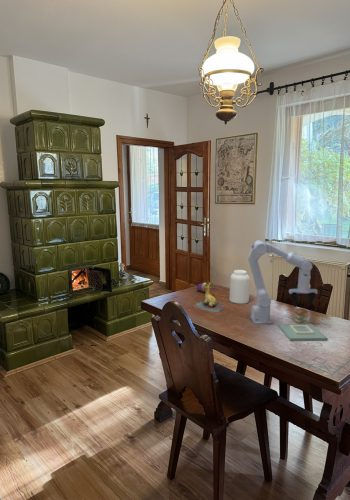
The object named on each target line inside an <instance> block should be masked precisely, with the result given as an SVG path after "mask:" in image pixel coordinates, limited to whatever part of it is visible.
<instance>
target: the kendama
mask: <svg viewBox="0 0 350 500" xmlns="http://www.w3.org/2000/svg"><path fill="white" fill-rule="evenodd" d="M202 284H203V283H198V284H197V286H196V290H197V291H198V292H200V293H206V289H204V290H202ZM209 294H210V295H212V296H213V297H215V298H216V294H215V293H213V292H209Z"/></svg>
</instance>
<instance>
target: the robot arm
mask: <svg viewBox="0 0 350 500" xmlns="http://www.w3.org/2000/svg"><path fill="white" fill-rule="evenodd" d="M266 253H267V254H272V253H273V254H275V255H277V256H279V257H281V258H284V259H285V262H287V263H288V264H290V265H292V266H293V267H296V268H298V269H299V270H298V271H299V272H298V280H297V288H290V289H289V290H288V293H289V294H290V297H291V300H292V304H293V307H295V308H297V303H298V298H299V295H298V294H307V307H309V308H311V306H312V303H313V301H314V300H315V298H317V295H318V289H316V288H310V282H311V270H312V269H313V264H312V262H311V261H310V260H309V259H307V258H306V257H305V256H301V255H298V254H297V252H295V251H294V252H292V251H291V252H287V251H285V250H283V249H281V248H279V247H277V246H276V245H274V244H272V243H269V242H267V241H263V240H261V239H257V240H255V242H253V243H252V245H251V247H250V251H249V254H248V258H247V260H248V264H249V267H250V271H251V274H252V279H253V281H254V285H255V289H256V293H257V294H256V299H257V302H256V304H254V305H251V316H250V319H251V321H252V322H253V323H254V324H256V325H257V324H260V325H261V324H265V325H266V324H273V322H272V321H271V319H270V315H271V314H270V313H271V303H272V299H271V298H270V296H269V294H268V292H267V289H266V287H265V282H264V278H263V275H262V271H261V268H260V264H259V260H260V258H261V257H262V256H264V255H265V254H266ZM316 294H317V295H316Z"/></svg>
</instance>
